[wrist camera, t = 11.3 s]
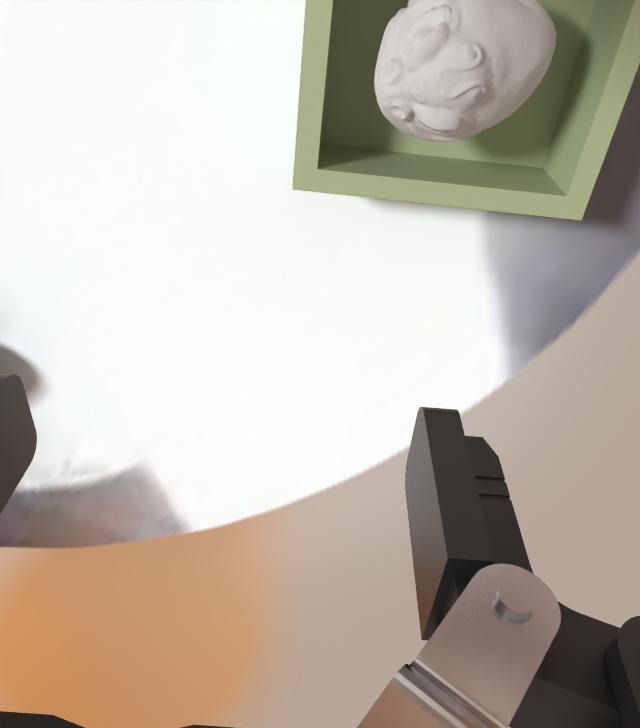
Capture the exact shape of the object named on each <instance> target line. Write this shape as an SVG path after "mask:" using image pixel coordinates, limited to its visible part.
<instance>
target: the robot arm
mask: <svg viewBox="0 0 640 728" xmlns="http://www.w3.org/2000/svg"><path fill="white" fill-rule="evenodd" d="M36 443H37V435H36V429H35V426H34V422H33V419H32V415H31V412H30V408H29V405H28V401H27V398H26V394H25V391H24V387H23V384H22V381H21V379H20V378H19V377H18V376H17V375H14V374H1V373H0V514H1V512H2V510H3V509H4V507H5V505H6V504H7V502H8V500H9V499H10V497H11V495H12V494H13V492H14V490H15V489H16V487H17V485H18V484H19V482H20V480H21V478H22V477H23V475H24V473H25V472H26V470H27V468H28V467H29V465H30V463H31V461H32V459H33V457H34V454H35V450H36ZM504 479H505V478H504V475H503V471H502V468H501V464H500V461H499V457H498V456H497V455H496V453H495V452H494V451H493V450H492V448H491V447H490V446H489V445H488V443H486V441H485V440H484V439H483V437H472V436H471V437H470V436H465V435H464V431H463V427H462V423H461V418H460V415H459V412H458V410H454V409H441V408H428V407H420V408H419V410H418V414H417V418H416V422H415V427H414V431H413V436H412V441H411V445H410V450H409V454H408V459H407V465H406V475H405V488H406V489H405V490H406V499H407V509H408V518H409V528H410V537H411V546H412V555H413V565H414V574H415V583H416V592H417V601H418V611H419V619H420V629H421V638H422V640H428V642H427V643H426V645H425V646H424V648H423V649H422V650H421V652H420V653H419V655H418V656H417V657H416V659H415V660H414V661H413V662H412V663H411V664H410V665H408V664H405V665H404V666H403V667H402V668H401V669H400V670H399V671H398V672H397V673H396V675H395V676H394V677H393V678H392V680H391V681H390V683H389V684H388V686H387V687H386V688H385V690H384V691H383V692H382V694H381V695H380V696H379V698H378V699H377V700H376V702H375V703H374V705H373V706H372V707H371V709H370V710H369V712H368V713H367V714H366V716H365V717H364V718H363V720H362V721H361V723H360V724H359V725H358V727H357V728H508V726H509V727H511V728H640V616H636V617H633V618H631V619H629V620H628V621H626V622H625V623H624V624H623V625H622V627H621V628H618V627H616V626H613V625H610V624H607V623H604V622H602V621H599V620H597V619H594V618H591V617H588V616H586V615H583V614H580V613H578V612H576V611H573V610H571V609H569V608H567V607H566V606H564V605H562V604H561V603H560V602H558V601H557V600H556V597H555V596H554V594H553V593H552V591H551V589H550V588H549V587H548V586H547V585H546V584H545V583H544V582H543V581H542V580H541V579H540V578H539V577H537V576H536V575H534V574H533V571H532V569H531V566H530V563H529V559H528V556H527V553H526V549H525V546H524V542H523V539H522V536H521V532H520V529H519V525H518V522H517V519H516V515H515V512H514V509H513V505H512V502H511V500H510V495H509V491H508V488H507V484H506V483H505V482H504ZM0 728H84V727H81V726H79V725H77V724H74V723H71V722H69V721H66V720H64V719H61V718H59V717H56V716H54V715H45V714H30V713H15V712H2V711H0ZM182 728H231V727H217V726H203V725H192V726H187V727H182Z"/></svg>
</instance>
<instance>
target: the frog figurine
mask: <svg viewBox="0 0 640 728" xmlns="http://www.w3.org/2000/svg"><path fill="white" fill-rule="evenodd" d="M556 36H557V33H556V30H555V26H554V23H553V21H552V19H551V17H550V16H549V14H548V12H547V11H546V10H545V8H544V7H543V6H542V5H541V4H540V3H539V2H538V1H537V0H409V2H408V7H407V8H401V9H400V10H399V11H398V12H397V13H396V15H395V16H394V17H392V19H391V20H390V22H389V23H388V25H387V27H386V29H385V32H384V35H383V39H382V42H381V46H380V50H379V54H378V59H377V64H376V68H375V78H374V84H375V93H376V97H377V102H378V105H379V107H380V110H381V112H382V113H383V115H384V116H385V117H386V118H387V119H388V120H389V121H390V122H391V123H392V124H393V125H394V126H395V127H396V128H397V129H399V130H400V131H401V132H402V133H404V134H405V135H408V136H411V137H417V138H420V139H422V140H427V141H435V142H452V141H456V140H462V139H467V138H471V137H473V136H475V135H477V134H478V133H480V132H481V131H482V130H485V129H487V128H490V127H492V126H494V125H496V124H498V123H499V122H500V121H502V120H503V119H505V118H507V117H509V116H510V115H512V114H513V113H514V112H515V111H516V110H517V109H518V108H519V107H520V106H521V105H522V104H523V103H524V102H525V101H526V100H527V99H528V98H529V97H530V95H531V94H532V92H533V91H534V90H535V89H536V87H537V86H538V85H539V84H540V82H541V80H542V78H543V77H544V75H545V73H546V71H547V69H548V67H549V65H550V62H551V59H552V56H553V52H554V49H555V45H556Z"/></svg>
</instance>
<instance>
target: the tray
mask: <svg viewBox="0 0 640 728" xmlns="http://www.w3.org/2000/svg"><path fill="white" fill-rule="evenodd" d="M537 1H538V2H539V3H540V4H541V5H542V6H543V7H544V8H545V10H546V11H547V12H548V14H549V16H550V17H551V19H552V21H553V23H554V26H555V30H556V33H557V36H556V45H555V49H554V52H553V56H552V59H551V62H550V65H549V67H548V69H547V71H546V73H545V75H544V77H543V78H542V80H541V82H540V84H539V85H538V86H537V87H536V89H535V90H534V91H533V92H532V94H531V95H530V97H529V98H528V99H527V100H526V101H525V102H524V103H523V104H522V105H521V106H520V107H519V108H518V109H517V110H516V111H515V112H514V113H513V114H512V115H510V116H509V117H507V118H505V119H503V120H502V121H500V122H499V123H498V124H496V125H494V126H492V127H490V128H487V129H485V130H482V131H481V132H480V133H478V134H477V135H475V136H473V137H471V138H467V139H462V140H456V141H452V142H435V141H427V140H422V139H420V138H417V137H411V136H408V135H405V134H404V133H402V132H401V131H400V130H399V129H397V128H396V127H395V126H394V125H393V124H392V123H391V122H390V121H389V120H388V119H387V118H386V117H385V116H384V115H383V113H382V112H381V110H380V107H379V105H378V102H377V97H376V93H375V84H374V78H375V68H376V64H377V59H378V54H379V50H380V46H381V42H382V39H383V35H384V32H385V29H386V27H387V25H388V23H389V22H390V20H391V19H392V17H394V16H395V15H396V13H397V12H398V11H399V10H400V9H401V8H407V7H408V2H409V0H306V7H305V21H304V35H303V49H302V63H301V77H300V92H299V106H298V120H297V134H296V148H295V162H294V176H293V189H294V190H303V191H312V192H321V193H331V194H340V195H349V196H359V197H368V198H377V199H387V200H396V201H405V202H415V203H424V204H433V205H443V206H452V207H461V208H470V209H480V210H489V211H498V212H508V213H517V214H526V215H536V216H545V217H554V218H564V219H573V220H582V217H583V215H584V212H585V209H586V207H587V204H588V201H589V199H590V196H591V193H592V190H593V188H594V185H595V182H596V180H597V177H598V174H599V172H600V169H601V166H602V164H603V161H604V158H605V155H606V153H607V150H608V147H609V145H610V142H611V139H612V137H613V134H614V131H615V128H616V126H617V123H618V120H619V118H620V115H621V112H622V110H623V107H624V104H625V102H626V99H627V96H628V93H629V91H630V88H631V85H632V83H633V80H634V77H635V75H636V72H637V69H638V66H639V64H640V0H537Z"/></svg>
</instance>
